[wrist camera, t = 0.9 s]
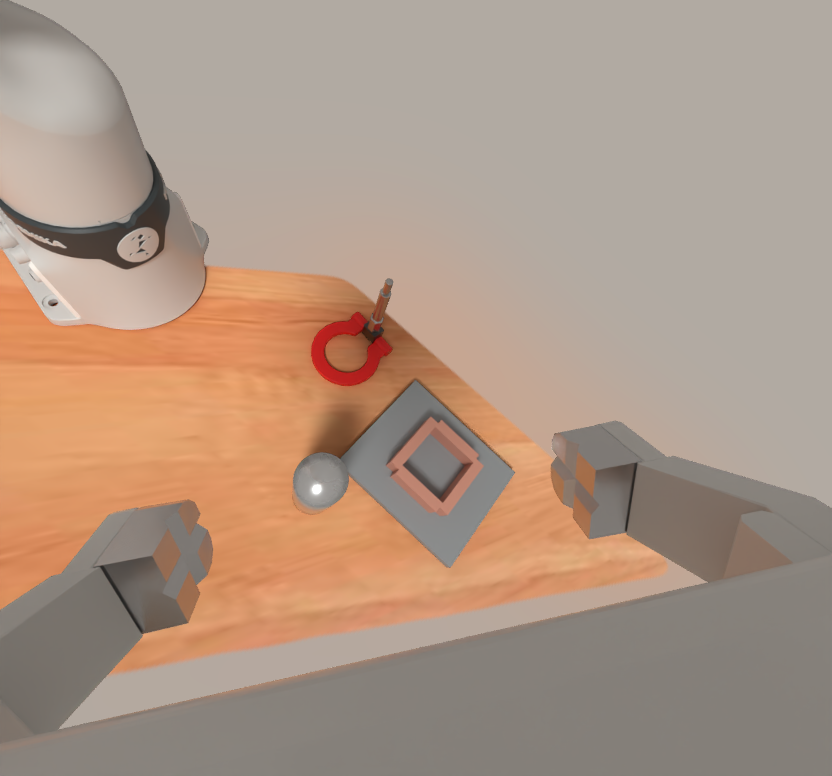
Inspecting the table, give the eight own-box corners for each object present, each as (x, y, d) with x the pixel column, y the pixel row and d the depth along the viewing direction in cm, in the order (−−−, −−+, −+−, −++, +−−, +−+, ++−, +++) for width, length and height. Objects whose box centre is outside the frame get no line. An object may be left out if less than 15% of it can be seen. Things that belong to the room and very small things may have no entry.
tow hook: (342, 400, 48) (396, 356, 52) (353, 360, 36) (423, 307, 40) (296, 349, 48) (353, 310, 52) (293, 294, 37) (367, 247, 40)
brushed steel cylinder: (283, 495, 42) (281, 481, 31) (313, 464, 44) (321, 441, 33) (313, 523, 42) (321, 519, 31) (342, 491, 44) (359, 477, 33)
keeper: (336, 463, 45) (339, 457, 41) (413, 383, 51) (421, 372, 48) (446, 566, 44) (459, 569, 41) (510, 473, 51) (525, 469, 47)
